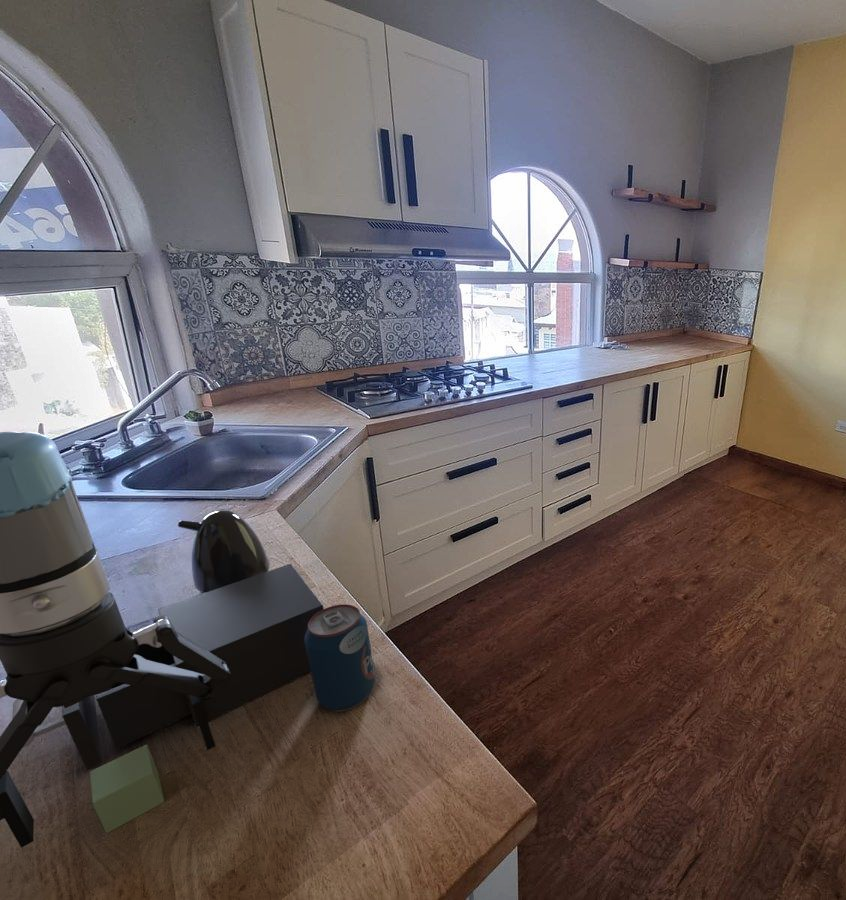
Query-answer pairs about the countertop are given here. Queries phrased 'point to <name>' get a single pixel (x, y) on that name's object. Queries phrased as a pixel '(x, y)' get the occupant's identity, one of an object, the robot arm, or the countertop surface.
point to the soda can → (340, 657)
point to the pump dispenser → (224, 551)
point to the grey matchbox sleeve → (250, 633)
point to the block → (125, 788)
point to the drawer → (119, 712)
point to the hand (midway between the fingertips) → (126, 783)
